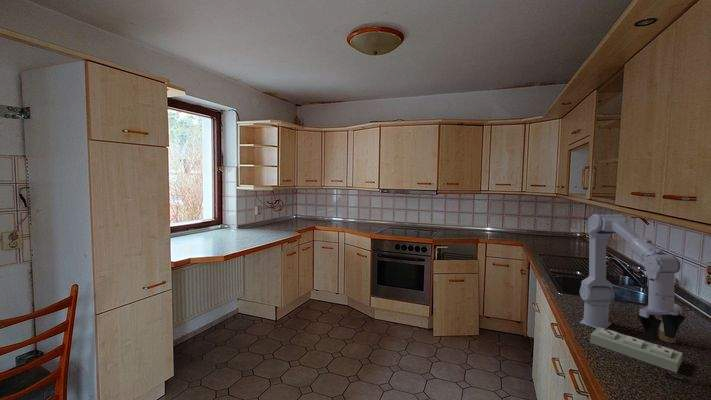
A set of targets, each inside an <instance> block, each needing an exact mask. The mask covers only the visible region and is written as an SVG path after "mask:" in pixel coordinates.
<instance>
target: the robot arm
mask: <svg viewBox="0 0 711 400" xmlns="http://www.w3.org/2000/svg"><path fill="white" fill-rule="evenodd" d="M587 233H588V236H589V237H588V238H589V241H588V243H589V244H588V245H589V251H588V258H589V260H588V267H589V268H588V276H587V277H586V278H585V279H583V280H581V285H580V288H579V295H580V296H579V297H580V298H581V299H582V301H584V304H583V305H584V306H583V307H584V308H583V318H582V320H580V321H579V324H581V325H584V326H587V327H591V328H593V329H595V330H596V329H597V328H598V327H601V328H605V329H607V328H608V327H609V326H611V325H612V323H611V322H610V321H609V313H610V306H609V305H611V303H612V302H613V301H614V299H615V292H614V288H613V283H611V282H610V281H609V280H608V279H607V239H608V238H609V237H610V236H612V235H614V234H617V235H618V236H619V237H621V238H622V239H623V240H624V241H626V242H627V243H628V244H630V246H629V248H630V250H631V251H632V253H634V254H635V255H636V256H637V257H638V258H639V259H640V260H641V261H643V262H642V263H643V267H644V269H645V271H646V277H647V278H648V293H647V294H648V299H647V300H648V303H647V306H645V307H643V308H640V309H639V313H637V316H636V317H637V319H638V320H639V321H640V324H641V325H642V328H643V331H644V334H645V337H646V339H647V340H649V341H652V342H657V340H658V333H659V332H658V331H659V328H660V324H661V322H662V321H663V326H664V334H665V336H667V337H670V338H675V335H676V336H677V332H678V331H679V328H680V326H681V324H682V323H683V322H684V321H685V319H686V316H685V315H682V314H683V307H681V306H679V307H678V306H675V305H674V303H675V274H678V272H680V270H681V267H682V266H681V261H680V259H679V258H678V257H677V256H676V255H675V254H674V253H667V252H664V251H663V250H662V249H661V248H659V247H658V246H657V245H656V244H655V243H653V242H652V241H653V240H652V239H650V238H646V237H641V236H640V235H639V234H638V233H637V232H635V230H634V229H633V228H632V227H631V226H630V225H629V224H628V219H627V218H626V217H625V216H624V215H622V214H619V213H616V214H597V213H593V214H592V215H591V216H590V217H589V218H587ZM656 316H657V317H658V316H660V318H661V317H662V320H660V318H656Z"/></svg>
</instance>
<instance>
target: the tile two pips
mask: <svg viewBox="0 0 711 400" xmlns="http://www.w3.org/2000/svg"><path fill="white" fill-rule="evenodd" d="M654 344H655V345H654V346H653V348H652V352H653V353H656V354H659V355H662V356H665V357H669V358H672V357H673V351H674V350H675V349H672V348H668V347H666V346H662V345H659V344H656V343H654Z"/></svg>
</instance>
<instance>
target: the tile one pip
mask: <svg viewBox="0 0 711 400" xmlns="http://www.w3.org/2000/svg"><path fill="white" fill-rule="evenodd" d="M644 341H645V340H643V339H639V338H638V337H635V336H634V337H633V336H631V335H627V337H626V338H625V339H624V343H626V344H629V345H632V346H635V347H638V348H641V349H642V348H643V347H644Z"/></svg>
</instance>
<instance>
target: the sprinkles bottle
mask: <svg viewBox="0 0 711 400" xmlns="http://www.w3.org/2000/svg"><path fill="white" fill-rule="evenodd" d="M674 305H675V306H678V307H680V305H679V304H678V303H675V302H674ZM659 320H662V317H661V316H660V318H659ZM658 331H659V332H658V333H659V334H658V339H659V340H660V341H663V342H666V343H670V344H675V343H676V342H677V341H676V338H677V334H676V335H675V338H670V337H667V336H665V334H664V326H663V321H662V322H661V324H660V326H659V328H658Z"/></svg>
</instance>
